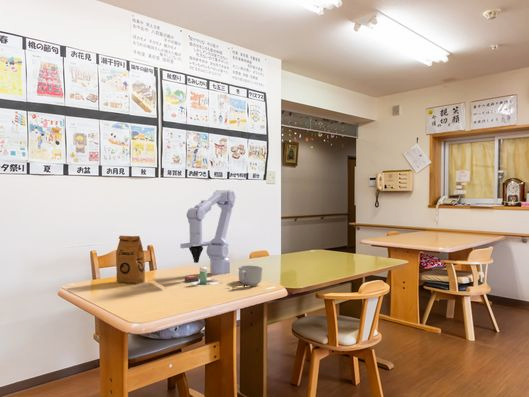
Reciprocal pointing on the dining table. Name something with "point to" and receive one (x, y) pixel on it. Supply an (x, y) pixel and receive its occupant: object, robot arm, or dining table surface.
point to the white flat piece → (197, 281)
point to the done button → (191, 277)
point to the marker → (203, 275)
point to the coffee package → (130, 260)
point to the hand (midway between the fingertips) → (196, 262)
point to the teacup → (250, 275)
